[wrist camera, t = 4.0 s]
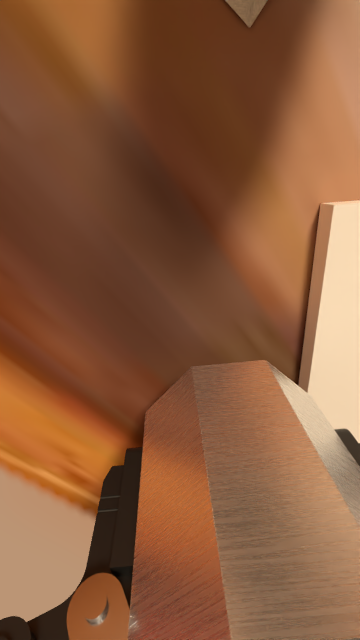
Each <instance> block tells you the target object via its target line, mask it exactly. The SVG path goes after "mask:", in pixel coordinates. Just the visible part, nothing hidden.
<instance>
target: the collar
mask: <svg viewBox="0 0 360 640" xmlns="http://www.w3.org/2000/svg"><path fill="white" fill-rule="evenodd" d="M127 640H360V467H359V466H358V464H357V463H356V461H355V460H354V458H353V457H352V455H351V454H350V452H349V451H348V449H347V448H346V446H345V445H344V443H343V442H342V441H341V439H340V438H339V436H338V435H337V433H336V432H335V430H334V429H333V427H332V426H331V424H330V423H329V421H328V420H327V418H326V417H325V416H324V414H323V413H322V411H321V410H320V408H319V407H318V405H317V404H316V402H315V401H314V399H313V398H312V396H310V395H309V394H308V393H307V392H305V391H304V390H303V389H302V388H300V387H299V386H298V385H296V384H295V383H294V382H293V381H291V380H290V379H289V378H288V377H286V376H285V375H284V374H283V373H281V372H280V371H279V370H277V369H276V368H275V367H274V366H272V365H271V364H270V363H269V362H267V361H266V360H259V361H249V362H238V363H227V364H216V365H206V366H195V367H191V368H190V369H189V370H188V371H187V372H186V373H185V374H184V375H183V376H182V377H181V378H180V379H179V380H178V381H177V382H176V383H175V384H174V385H173V386H171V387H170V388H169V389H168V390H167V391H166V392H165V393H164V394H163V395H162V396H161V397H160V398H159V399H158V400H157V401H156V402H155V403H154V404H153V405H152V406H151V407H150V408H149V409H148V410H147V411H146V414H145V426H144V439H143V451H142V464H141V477H140V489H139V502H138V514H137V527H136V539H135V552H134V564H133V577H132V589H131V602H130V614H129V627H128V639H127Z"/></svg>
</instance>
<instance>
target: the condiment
mask: <svg viewBox="0 0 360 640" xmlns="http://www.w3.org/2000/svg"><path fill="white" fill-rule="evenodd" d="M225 1H226V2H227V3H228V4H229V5H230V6H231V7H232V9H233V10H234V11H235V12H236V13H237V14H238V15H239V16H240V18H241V19H242V20H243V21H244V22H245V23H246V25H247V26H248V27H249V28H250V27H251V25H252V24H253V22H254V21H255V19H256V18H257V16H258V14H259V13H260V11H261V10H262V8H263V7H264V5H265V4H266V2H267V1H268V0H225Z"/></svg>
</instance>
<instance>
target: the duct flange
mask: <svg viewBox="0 0 360 640" xmlns="http://www.w3.org/2000/svg"><path fill="white" fill-rule="evenodd" d="M298 386H299V387H300V388H302V389H303V390H304V391H305V392H307V393H308V394H309V395H310V396H312V398H313V399H314V401H315V402H316V404H317V405H318V407H319V408H320V410H321V411H322V413H323V414H324V416H325V417H326V418H327V420H328V421H329V423H330V424H331V426H332V427H333V429H343V428H345V429H348V430H349V431H350V432H351V434H352V435H353V436H354V438H355V439H356V440H357V442H358V443H360V200H355V201H343V202H331V203H321V204H320V212H319V220H318V228H317V237H316V245H315V253H314V261H313V269H312V278H311V286H310V294H309V302H308V310H307V318H306V327H305V335H304V343H303V351H302V359H301V368H300V376H299V384H298Z"/></svg>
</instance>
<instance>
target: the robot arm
mask: <svg viewBox="0 0 360 640" xmlns="http://www.w3.org/2000/svg"><path fill="white" fill-rule="evenodd" d="M334 430H335V432H336V433H337V435H338V436H339V438H340V439H341V441H342V442H343V443H344V445H345V446H346V448H347V449H348V451H349V452H350V454H351V455H352V457H353V458H354V460H355V461H356V463H357V464H358V466H359V467H360V443H358V442H357V440H356V439H355V438H354V436H353V435H352V434H351V432H350V431H349V430H348V429H345V428H343V429H334ZM142 451H143V447H139V448H128V449H127V450H126V455H125V462H124V465H122V466H112V468H111V469H110V471H109V473H108V474H107V476H106V478H105V479H104V482H103V487H102V492H101V499H100V501H99V506H98V514H97V516H96V521H95V526H94V532H93V536H92V541H91V546H90V551H89V556H88V562H87V567H86V570H85V573H84V576H83V578H82V580H81V582H80V584H79V585H78V587H77V589H76V590H75V591H74V592H73V594H72V595H71V596H70V597H69V598H68V599H67V600H66V601H64V602H63V603H62V604H60V605H59V606H57V607H55V608H53V609H51V610H50V611H48V612H46V613H44V614H42V615H40V616H38V617H36V618H34V619H32V620H30V621H28V622H25V620H24V619H22V618H20V617H15V616H11V617H7V618H4V619H2V620H0V640H127V639H128V627H129V614H130V602H131V589H132V577H133V564H134V552H135V539H136V527H137V514H138V502H139V489H140V477H141V464H142Z"/></svg>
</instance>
